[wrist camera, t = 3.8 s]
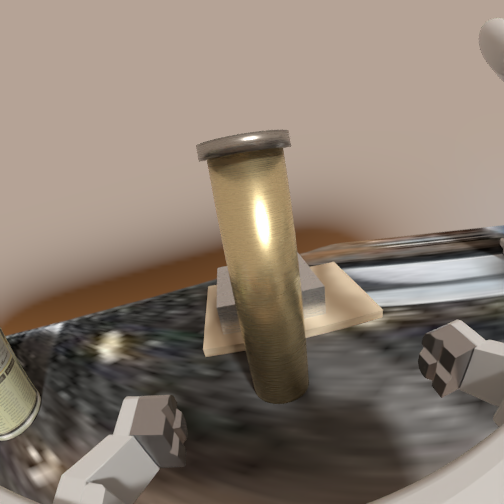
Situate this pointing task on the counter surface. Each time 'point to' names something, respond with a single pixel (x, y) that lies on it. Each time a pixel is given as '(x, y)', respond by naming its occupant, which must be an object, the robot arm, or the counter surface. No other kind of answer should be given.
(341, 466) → the counter surface
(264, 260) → the brass peg
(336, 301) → the jig plate
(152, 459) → the robot arm
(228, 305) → the jig
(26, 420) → the coffee can
